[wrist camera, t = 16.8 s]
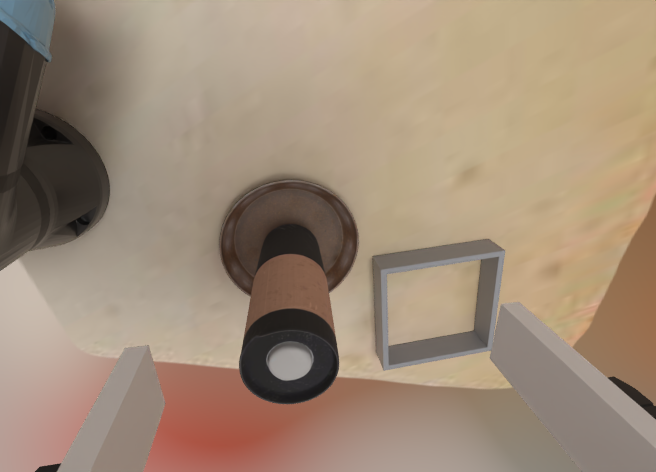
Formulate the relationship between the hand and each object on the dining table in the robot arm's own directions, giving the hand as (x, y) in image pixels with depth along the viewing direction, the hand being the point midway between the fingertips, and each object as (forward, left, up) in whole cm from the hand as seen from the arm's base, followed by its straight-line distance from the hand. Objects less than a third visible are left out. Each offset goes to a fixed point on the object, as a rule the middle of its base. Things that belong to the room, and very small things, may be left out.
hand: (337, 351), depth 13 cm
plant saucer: (-1, -10, -33) cm, 35 cm away
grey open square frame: (+19, -23, -33) cm, 44 cm away
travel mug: (-1, -10, -30) cm, 32 cm away
